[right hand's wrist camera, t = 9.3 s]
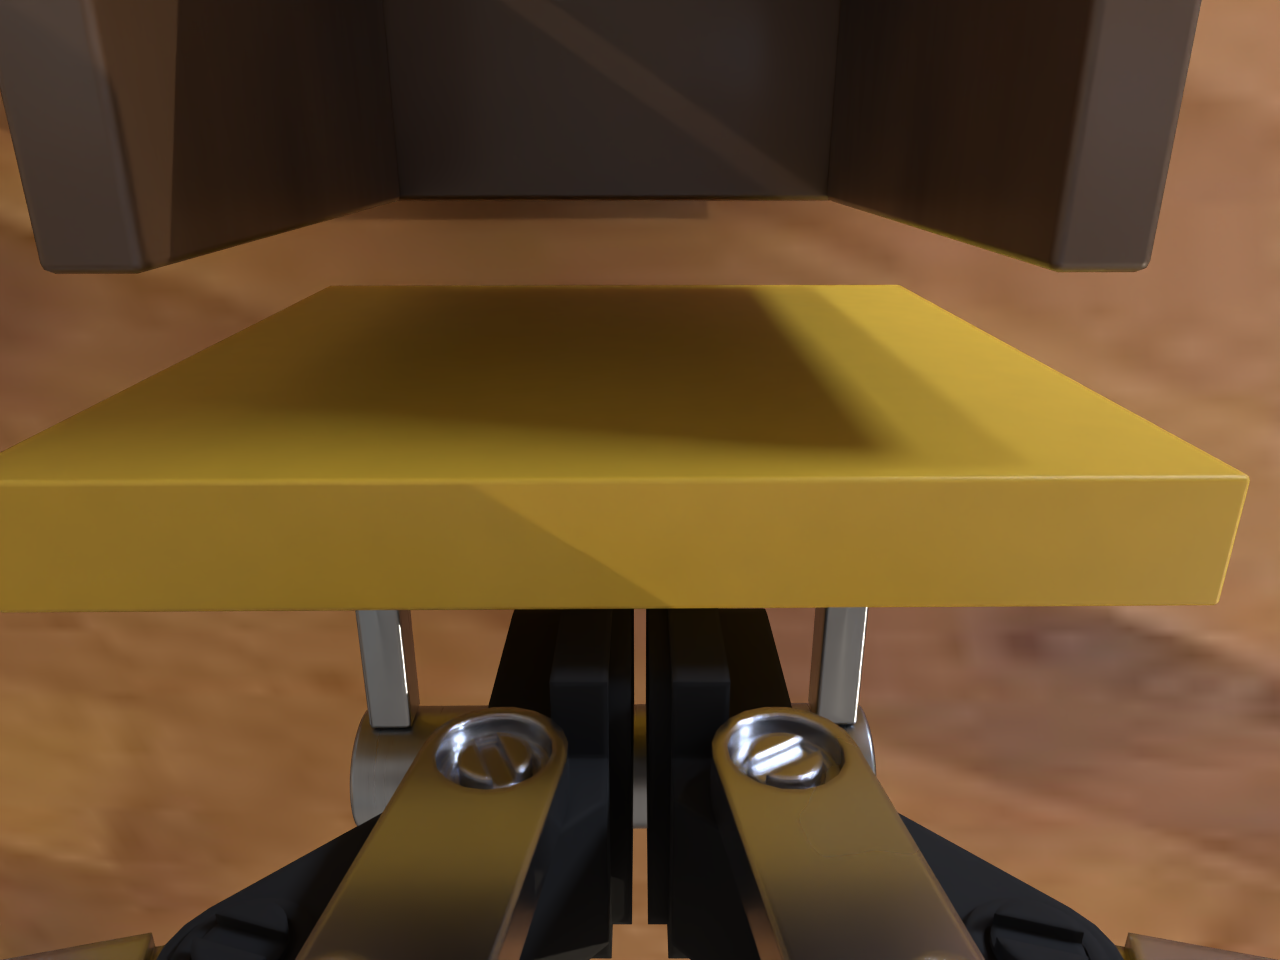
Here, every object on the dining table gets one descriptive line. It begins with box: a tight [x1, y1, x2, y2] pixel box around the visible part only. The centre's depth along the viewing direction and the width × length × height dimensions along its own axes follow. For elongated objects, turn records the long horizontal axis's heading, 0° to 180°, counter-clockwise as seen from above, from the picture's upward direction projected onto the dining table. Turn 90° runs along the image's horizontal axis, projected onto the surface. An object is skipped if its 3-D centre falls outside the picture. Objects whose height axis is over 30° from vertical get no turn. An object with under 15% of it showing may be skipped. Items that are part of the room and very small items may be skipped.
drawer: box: [0, 0, 1250, 828], centre depth 11 cm, size 21×10×10 cm, turn 0°
